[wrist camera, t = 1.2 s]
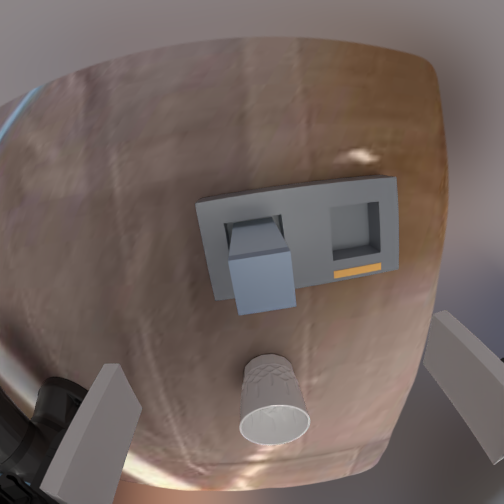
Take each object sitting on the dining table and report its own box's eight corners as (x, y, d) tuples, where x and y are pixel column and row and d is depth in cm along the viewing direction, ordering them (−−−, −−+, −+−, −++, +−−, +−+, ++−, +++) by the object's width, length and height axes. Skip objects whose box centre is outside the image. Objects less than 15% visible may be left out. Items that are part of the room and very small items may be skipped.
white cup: (243, 346, 36) (244, 402, 26) (303, 352, 36) (319, 405, 27) (236, 389, 38) (235, 443, 28) (289, 393, 39) (299, 445, 29)
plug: (239, 259, 31) (238, 315, 20) (233, 222, 30) (227, 261, 18) (276, 253, 31) (296, 306, 20) (271, 216, 30) (290, 251, 18)
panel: (218, 285, 33) (215, 301, 29) (201, 198, 30) (194, 203, 26) (383, 257, 33) (398, 269, 29) (379, 174, 30) (396, 177, 26)
